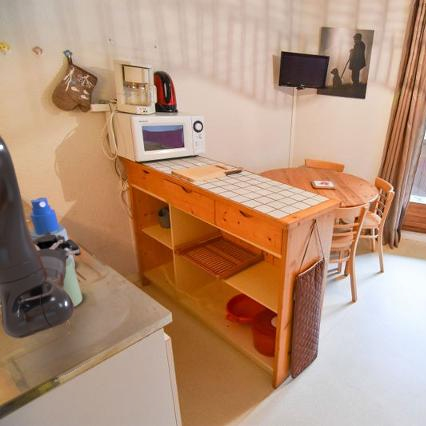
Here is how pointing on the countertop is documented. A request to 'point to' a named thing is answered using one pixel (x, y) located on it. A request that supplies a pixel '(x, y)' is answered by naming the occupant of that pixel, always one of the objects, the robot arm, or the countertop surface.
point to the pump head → (47, 240)
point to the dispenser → (72, 283)
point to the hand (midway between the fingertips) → (49, 240)
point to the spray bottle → (46, 221)
